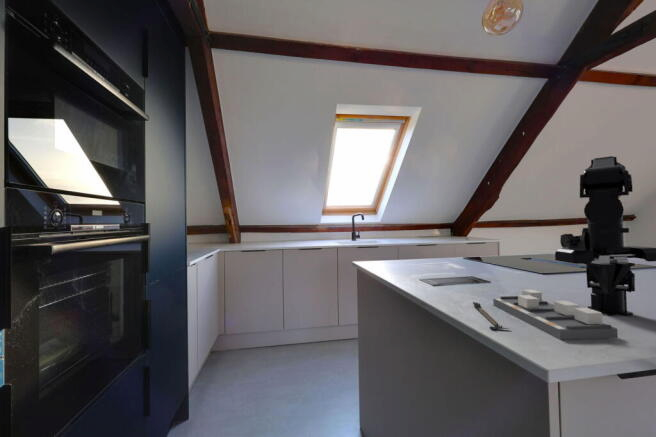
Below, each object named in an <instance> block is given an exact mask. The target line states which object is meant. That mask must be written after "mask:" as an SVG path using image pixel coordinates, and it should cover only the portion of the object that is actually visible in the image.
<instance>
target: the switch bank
mask: <svg viewBox="0 0 656 437" xmlns="http://www.w3.org/2000/svg"><path fill="white" fill-rule="evenodd" d="M492 300H493V306H494V307H497V308H498V309H500V310H502V311H504V312H505V313H508V314H509V315H511V316H514V317H515V318H517V319H520V320H522V321H523V322H525V323H527V324H528V325H531V326H533V327H534V328H537V329H538V330H540V331H543V332H544V333H546V334H548V335H551V337H552V336H553V337H555V338H556V339H558V340H560V341H562V340H563V341H564V340H597V339H601V340H602V339H603V340H604V339H618V337H619V336H618V332H619V331H618V328H617V327H614V326H612V324H607V323H603V322H602V323H603V324H586V323H584V322H581V321H579V320H576V319H575V317H574V315H564V314H561V313H559V312H556V311H554V303H553V304H552V303H550V302H549V301H546V300H542V301H539V308H525V307H523V306H521V305H518V295H515V296H514V295H510V296H509V295H508V296H507V295H506V296H501V295H500V298H495V297H494V298H493V299H492Z"/></svg>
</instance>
